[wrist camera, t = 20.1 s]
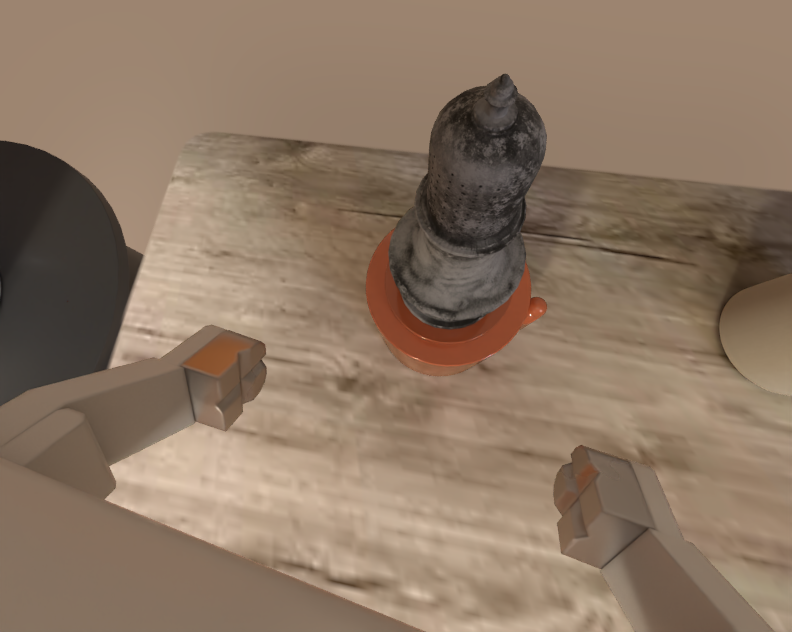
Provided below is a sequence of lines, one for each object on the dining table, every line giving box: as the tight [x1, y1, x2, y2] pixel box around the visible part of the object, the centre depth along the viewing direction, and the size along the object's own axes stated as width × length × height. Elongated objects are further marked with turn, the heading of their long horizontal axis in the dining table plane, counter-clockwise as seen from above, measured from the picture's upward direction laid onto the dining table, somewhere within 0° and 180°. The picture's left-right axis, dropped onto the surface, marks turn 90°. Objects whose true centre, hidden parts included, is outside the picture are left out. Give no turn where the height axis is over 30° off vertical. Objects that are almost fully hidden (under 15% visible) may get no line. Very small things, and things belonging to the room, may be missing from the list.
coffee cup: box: [366, 228, 547, 376], centre depth 23 cm, size 10×9×9 cm
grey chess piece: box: [388, 74, 547, 330], centre depth 13 cm, size 6×6×12 cm
